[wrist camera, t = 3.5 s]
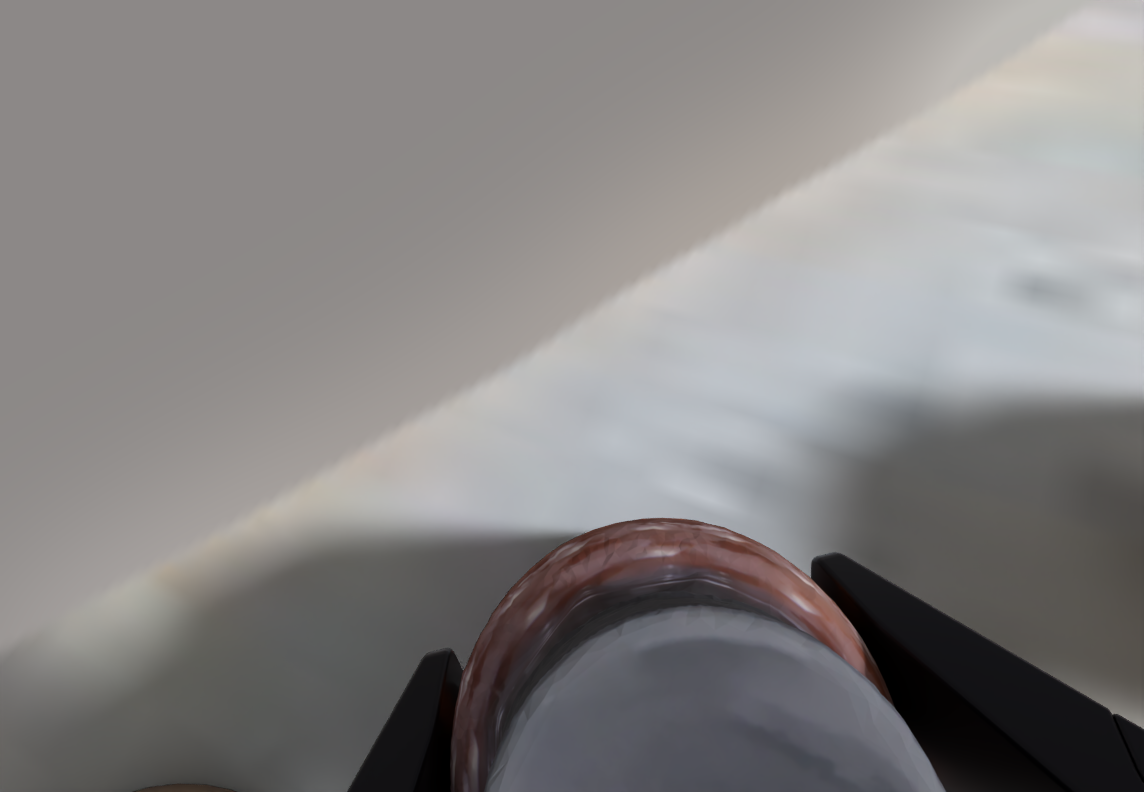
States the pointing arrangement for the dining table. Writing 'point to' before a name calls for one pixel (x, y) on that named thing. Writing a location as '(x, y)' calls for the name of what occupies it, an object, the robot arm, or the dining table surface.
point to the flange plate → (184, 788)
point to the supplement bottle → (676, 676)
